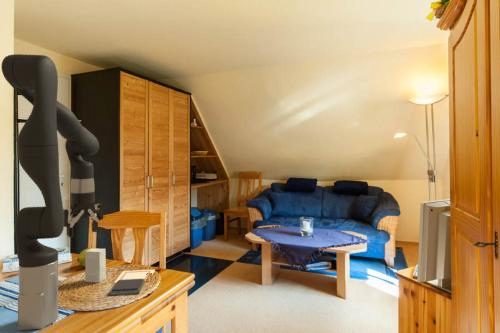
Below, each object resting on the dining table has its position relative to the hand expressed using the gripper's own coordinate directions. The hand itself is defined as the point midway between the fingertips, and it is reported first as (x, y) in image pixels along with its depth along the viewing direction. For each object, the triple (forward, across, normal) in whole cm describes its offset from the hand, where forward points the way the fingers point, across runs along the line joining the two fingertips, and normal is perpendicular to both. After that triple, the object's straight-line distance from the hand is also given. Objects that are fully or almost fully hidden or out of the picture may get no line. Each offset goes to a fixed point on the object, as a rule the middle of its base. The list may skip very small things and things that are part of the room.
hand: (83, 234), depth 107 cm
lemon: (+21, +13, +19) cm, 32 cm away
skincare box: (+20, +6, +2) cm, 21 cm away
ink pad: (+19, +8, -16) cm, 26 cm away
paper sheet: (+20, +16, -8) cm, 27 cm away
